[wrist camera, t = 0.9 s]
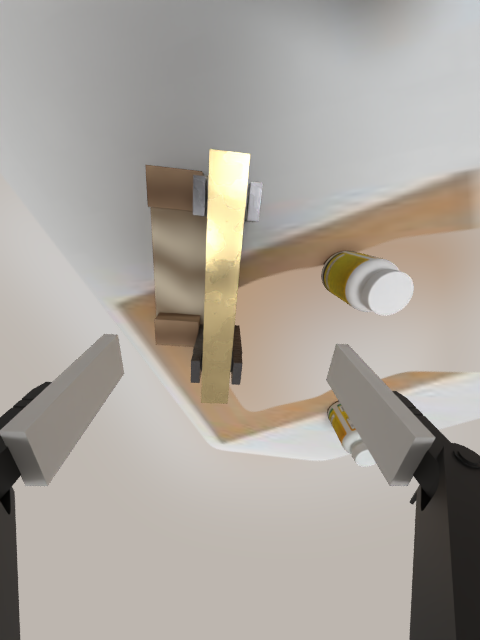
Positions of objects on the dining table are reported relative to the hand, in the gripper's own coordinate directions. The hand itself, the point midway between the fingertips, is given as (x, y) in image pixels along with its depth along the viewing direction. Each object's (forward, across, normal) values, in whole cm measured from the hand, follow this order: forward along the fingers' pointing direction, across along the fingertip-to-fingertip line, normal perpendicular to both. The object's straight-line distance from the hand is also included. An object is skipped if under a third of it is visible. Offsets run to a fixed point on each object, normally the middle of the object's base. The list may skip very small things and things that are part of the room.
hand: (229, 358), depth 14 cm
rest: (+20, -7, +1) cm, 22 cm away
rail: (+12, -1, 0) cm, 13 cm away
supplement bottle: (+20, +23, -24) cm, 39 cm away
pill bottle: (+21, +16, +2) cm, 26 cm away
